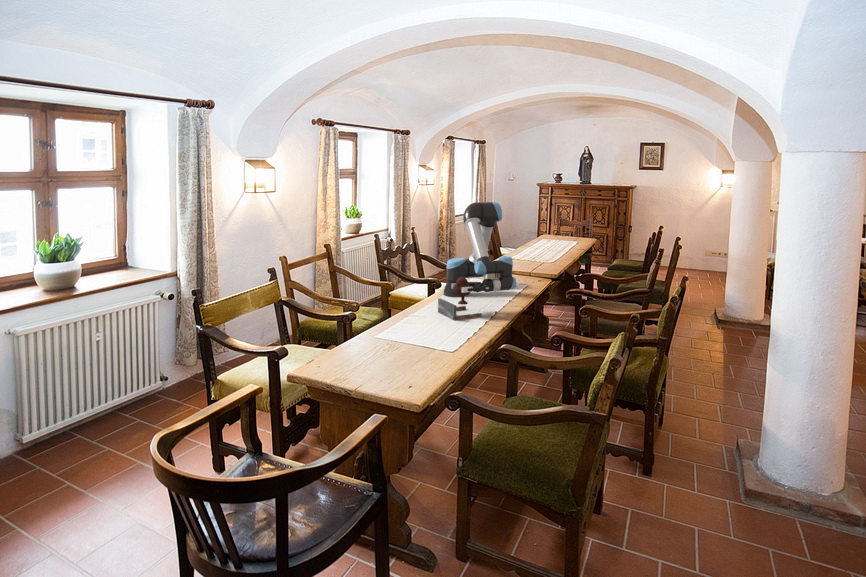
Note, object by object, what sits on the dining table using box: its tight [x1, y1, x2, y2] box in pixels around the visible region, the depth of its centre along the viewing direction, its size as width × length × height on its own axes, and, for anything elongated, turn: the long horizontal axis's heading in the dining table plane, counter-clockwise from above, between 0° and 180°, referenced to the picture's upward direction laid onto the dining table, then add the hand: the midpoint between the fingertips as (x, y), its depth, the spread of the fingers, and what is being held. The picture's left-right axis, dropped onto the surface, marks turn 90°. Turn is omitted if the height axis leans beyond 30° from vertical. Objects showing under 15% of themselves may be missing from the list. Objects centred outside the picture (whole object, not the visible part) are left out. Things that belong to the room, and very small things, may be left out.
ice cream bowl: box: [453, 277, 472, 306], centre depth 331 cm, size 11×11×15 cm
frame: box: [437, 297, 483, 321], centre depth 333 cm, size 17×19×8 cm
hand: (456, 288), depth 329 cm, fingers closed on ice cream bowl, 11 cm apart
